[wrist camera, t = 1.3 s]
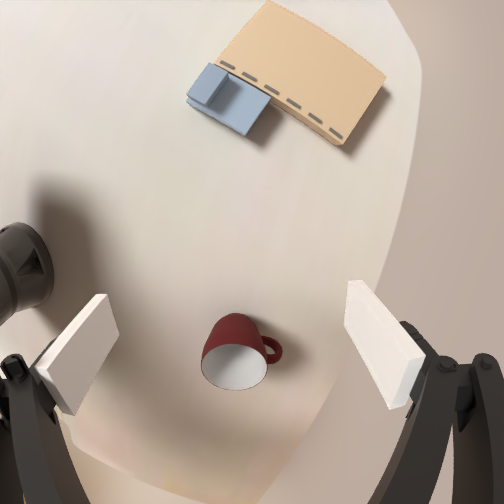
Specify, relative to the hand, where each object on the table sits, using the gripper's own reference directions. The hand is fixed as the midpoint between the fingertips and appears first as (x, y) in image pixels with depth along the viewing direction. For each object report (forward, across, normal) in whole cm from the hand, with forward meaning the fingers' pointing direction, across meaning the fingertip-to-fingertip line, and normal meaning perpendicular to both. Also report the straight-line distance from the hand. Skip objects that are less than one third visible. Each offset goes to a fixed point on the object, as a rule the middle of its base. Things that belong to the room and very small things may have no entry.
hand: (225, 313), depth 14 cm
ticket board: (+23, +10, +19) cm, 31 cm away
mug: (+23, 0, -16) cm, 28 cm away
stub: (+23, 0, +15) cm, 27 cm away
